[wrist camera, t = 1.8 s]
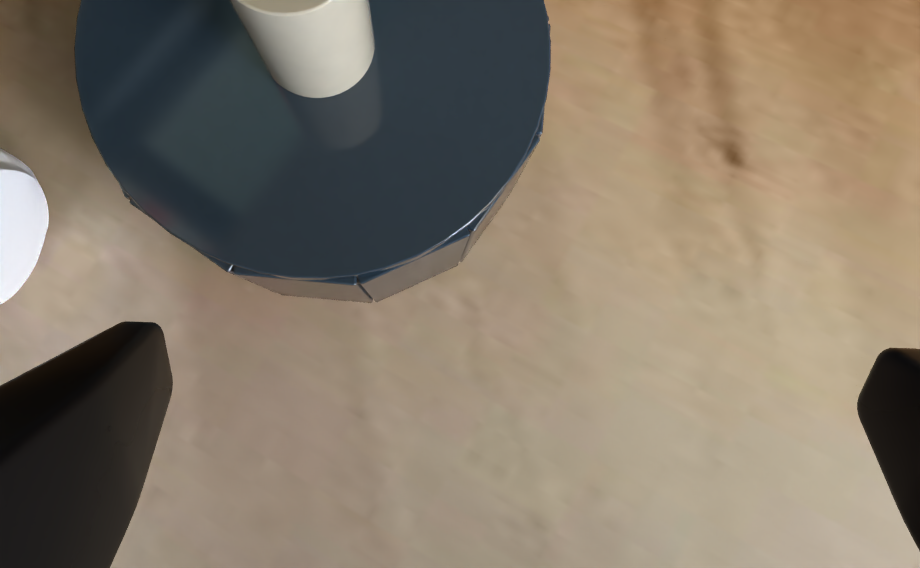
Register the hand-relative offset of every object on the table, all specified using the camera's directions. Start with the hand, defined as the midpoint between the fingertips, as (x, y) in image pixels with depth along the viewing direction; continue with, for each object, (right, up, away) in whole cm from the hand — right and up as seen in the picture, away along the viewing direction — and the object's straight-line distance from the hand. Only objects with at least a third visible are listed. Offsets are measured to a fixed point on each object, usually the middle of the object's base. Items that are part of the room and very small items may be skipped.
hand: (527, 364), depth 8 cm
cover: (-5, +6, +14) cm, 16 cm away
